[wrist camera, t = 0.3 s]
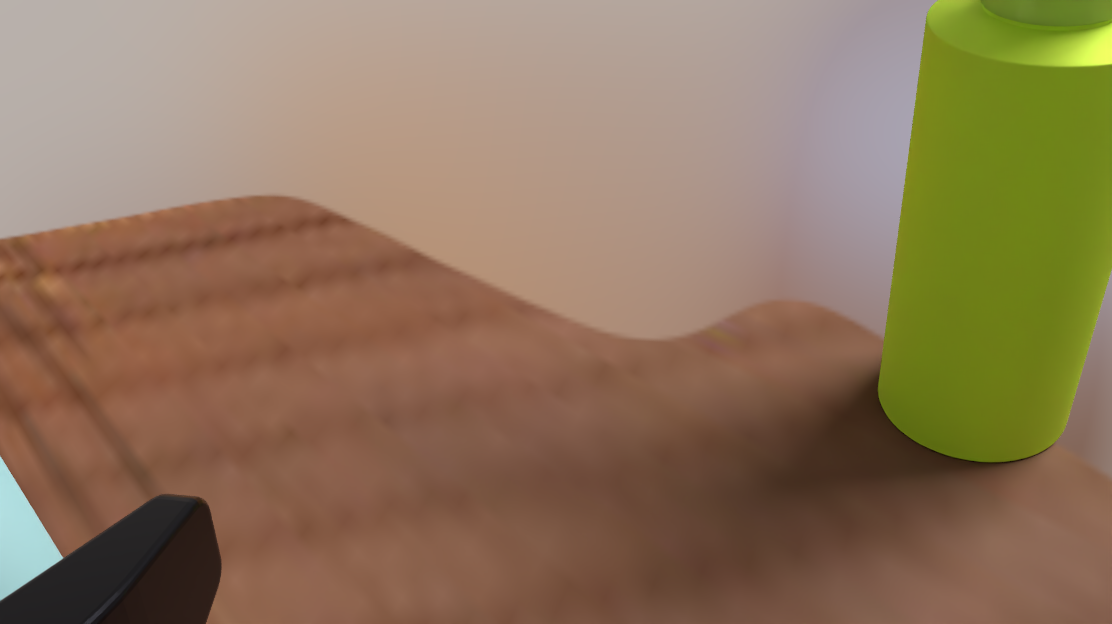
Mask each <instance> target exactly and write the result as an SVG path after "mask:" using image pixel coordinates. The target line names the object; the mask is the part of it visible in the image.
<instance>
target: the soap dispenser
mask: <svg viewBox="0 0 1112 624" xmlns="http://www.w3.org/2000/svg"><path fill="white" fill-rule="evenodd" d="M1111 270H1112V0H938V1H937V2H935V3H934V4H933V5H932V6H931V8H930V9H929V11H928V14H927V17H926V24H925V32H924V40H923V47H922V55H921V63H920V70H919V78H918V85H917V93H916V101H915V108H914V116H913V124H912V131H911V139H910V147H909V154H908V162H907V169H906V178H905V185H904V192H903V201H902V208H901V216H900V223H899V231H898V238H897V246H896V254H895V261H894V269H893V276H892V285H891V292H890V299H889V307H888V315H887V322H886V330H885V337H884V345H883V353H882V360H881V368H880V376H879V383H878V395H879V400H880V403H881V406H882V408H883V410H884V412H885V413H886V415H887V416H888V418H889V419H890V420H891V422H892V423H893V424H894V425H895V426H896V427H897V428H898V429H899V430H900V431H902V432H903V433H904V434H905V435H907V436H908V437H909V438H911V439H912V440H914V441H916V442H917V443H919V444H921V445H923V446H925V447H927V448H929V449H931V450H934V451H936V452H939V453H941V454H944V455H948V456H951V457H955V458H959V459H964V460H970V461H978V462H1006V461H1014V460H1019V459H1023V458H1027V457H1030V456H1033V455H1035V454H1038V453H1040V452H1042V451H1043V450H1045V449H1047V448H1048V447H1050V446H1051V445H1052V444H1053V443H1054V442H1055V441H1056V440H1057V439H1058V438H1059V437H1060V436H1061V434H1062V433H1063V431H1064V429H1065V426H1066V424H1067V420H1068V417H1069V413H1070V410H1071V406H1072V403H1073V400H1074V396H1075V393H1076V389H1077V386H1078V383H1079V379H1080V376H1081V372H1082V369H1083V365H1084V362H1085V359H1086V355H1087V352H1088V348H1089V345H1090V342H1091V338H1092V335H1093V331H1094V328H1095V324H1096V320H1097V318H1098V314H1099V311H1100V307H1101V304H1102V301H1103V297H1104V294H1105V290H1106V287H1107V284H1108V280H1109V276H1110V273H1111Z"/></svg>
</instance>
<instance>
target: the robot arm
mask: <svg viewBox="0 0 1112 624" xmlns="http://www.w3.org/2000/svg"><path fill="white" fill-rule="evenodd" d="M220 577H221V556H220V552H219V547H218V543H217V538H216V534H215V530H214V525H213V521H212V516H211V512H210V509H209V506H208V504H207V503H206V501H205V500H204V499H202V498H200V497H196V496H185V495H175V494H161V495H159V496H156V497H154V498H153V499H151V500H149V501H148V502H146V503H145V504H143V505H142V506H140V507H139V508H137V509H136V510H134V511H133V512H132V513H130V514H129V515H127V516H126V517H124V518H123V519H121V520H120V521H118V522H117V523H115V524H114V525H112V526H111V527H109V528H108V529H106V530H105V531H103V532H102V533H100V534H99V535H97V536H96V537H94V538H93V539H91V540H90V541H88V542H87V543H85V544H84V545H82V546H81V547H79V548H78V549H76V550H75V551H73V552H72V553H70V554H69V555H67V556H66V557H65V558H63V559H62V560H60V561H59V562H57V563H56V564H54V565H53V566H51V567H50V568H48V569H47V570H45V571H44V572H42V573H41V574H39V575H38V576H36V577H35V578H33V579H32V580H30V581H29V582H27V583H26V584H24V585H23V586H21V587H20V588H18V589H17V590H15V591H14V592H12V593H11V594H9V595H8V596H6V597H5V598H3V599H2V600H0V624H206V622H207V619H208V616H209V613H210V610H211V607H212V604H213V601H214V598H215V595H216V592H217V589H218V586H219V582H220Z"/></svg>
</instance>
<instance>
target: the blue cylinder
mask: <svg viewBox="0 0 1112 624" xmlns="http://www.w3.org/2000/svg"><path fill="white" fill-rule="evenodd" d="M62 559H63V557H62V556H61V554H60V552H59V551H58V549H57V548H56V546H55V544H54V543H53V541H52V539H51V538H50V536H49V535H48V533H47V531H46V530H45V528H44V526H43V525H42V523H41V522H40V520H39V518H38V517H37V515H36V513H35V512H34V510H33V509H32V507H31V505H30V504H29V502H28V501H27V499H26V497H25V496H24V494H23V492H22V491H21V489H20V488H19V486H18V484H17V483H16V481H15V479H14V478H13V476H12V475H11V473H10V471H9V470H8V468H7V466H6V465H5V463H4V462H3V460H2V458H1V457H0V600H2V599H3V598H5V597H6V596H8V595H9V594H11V593H12V592H14V591H15V590H17V589H18V588H20V587H21V586H23V585H24V584H26V583H27V582H29V581H30V580H32V579H33V578H35V577H36V576H38V575H39V574H41V573H42V572H44V571H45V570H47V569H48V568H50V567H51V566H53V565H54V564H56V563H57V562H59V561H60V560H62Z"/></svg>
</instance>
